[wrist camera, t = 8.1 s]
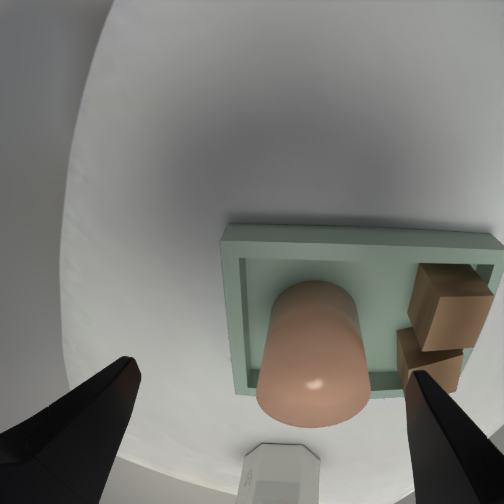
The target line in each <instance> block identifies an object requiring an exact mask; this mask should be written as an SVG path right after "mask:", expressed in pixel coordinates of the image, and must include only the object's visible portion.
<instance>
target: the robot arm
mask: <svg viewBox="0 0 504 504" xmlns="http://www.w3.org/2000/svg"><path fill="white" fill-rule="evenodd" d="M140 382H141V372H140V370H139V368H138V365H137V363H136V360H135V359H134V358H133V357H128V356H122V357H120V358H119V359H117V360H116V361H115V362H113V363H112V364H110V365H109V366H107V367H106V368H104V369H103V370H101V371H100V372H98V373H97V374H95V375H94V376H92V377H91V378H89V379H88V380H86V381H85V382H83V383H82V384H80V385H79V386H77V387H76V388H75V389H73V390H72V391H70V392H69V393H67V394H66V395H64V396H63V397H61V398H60V399H58V400H57V401H55V402H54V403H52V404H51V405H49V407H46V408H45V409H43V410H41V411H40V412H38V413H37V414H35V415H34V416H32V417H30V418H29V419H27V420H25V421H23V422H21V423H20V424H18V425H16V426H14V427H12V428H10V429H8V430H6V431H4V432H3V433H0V504H99V501H100V498H101V495H102V492H103V490H104V487H105V484H106V481H107V478H108V476H109V473H110V470H111V467H112V465H113V462H114V459H115V457H116V454H117V451H118V449H119V446H120V443H121V441H122V438H123V436H124V433H125V431H126V428H127V425H128V423H129V420H130V417H131V414H132V411H133V407H134V404H135V400H136V396H137V393H138V389H139V385H140ZM405 400H406V415H407V434H408V442H409V448H410V455H411V462H412V470H413V478H414V487H415V497H416V504H504V455H503V454H502V453H501V452H500V451H499V449H497V447H496V446H495V445H494V444H493V443H492V442H491V441H490V440H489V439H487V436H486V435H485V434H484V433H483V432H482V431H481V430H480V428H479V427H478V426H477V425H476V424H475V423H474V422H473V421H472V420H471V419H470V417H469V416H468V415H467V414H466V413H465V412H464V411H463V410H462V409H461V408H460V406H459V405H458V404H457V403H456V402H455V401H454V400H453V399H452V398H451V397H450V396H449V395H448V394H447V392H446V391H445V390H444V389H443V388H442V387H441V386H440V385H439V384H438V383H437V382H436V381H435V380H434V379H433V378H432V377H431V376H430V374H429V373H428V372H427V371H425V370H414V371H412V373H411V375H410V378H409V380H408V383H407V385H406V389H405Z"/></svg>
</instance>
